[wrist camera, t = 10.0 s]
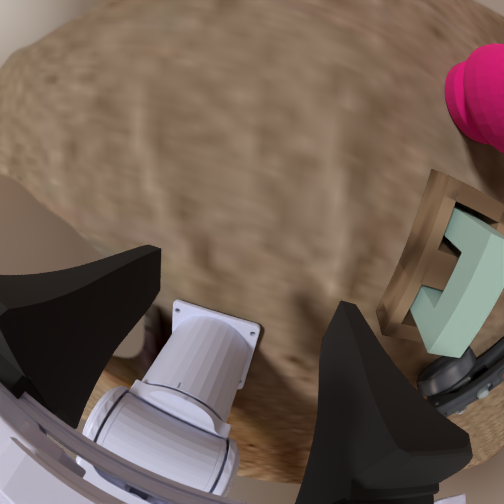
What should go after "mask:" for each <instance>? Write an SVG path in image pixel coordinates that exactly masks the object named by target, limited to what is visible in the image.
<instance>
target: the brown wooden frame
mask: <svg viewBox="0 0 504 504" xmlns="http://www.w3.org/2000/svg"><path fill="white" fill-rule="evenodd" d="M456 201H457V202H459V203H461V204H463V205H465V206H468V207H470V208H472V209H474V210H476V211H478V215H477V218H479V219H480V220H482V221H483V222H485V223H486V224H488V225H489V226H491V227H492V228H494V229H495V230H496V231H498V232H499V233H501V234H502V235H503V236H504V205H503V204H502V203H500V202H498V201H497V200H495V199H493V198H491V197H490V196H488V195H486V194H484V193H482V192H481V191H479V190H477V189H475V188H473V187H471V186H469V185H467V184H465V183H463V182H461V181H459V180H457V179H455V178H453V177H451V176H449V175H446V174H444V173H441V172H438V171H436V170H433V169H431V173H430V176H429V180H428V183H427V186H426V190H425V193H424V196H423V199H422V202H421V205H420V208H419V211H418V214H417V217H416V219H415V222H414V225H413V228H412V230H411V233H410V236H409V238H408V241H407V243H406V246H405V248H404V251H403V253H402V256H401V258H400V260H399V263H398V265H397V267H396V270H395V272H394V274H393V276H392V279H391V281H390V283H389V285H388V287H387V289H386V292H385V294H384V296H383V298H382V300H381V302H380V304H379V306H378V308H377V310H376V314H377V318H378V321H379V325H380V329H381V333H382V335H386V336H391V337H396V338H401V339H406V340H411V341H416V342H421V343H424V342H423V339H422V337H421V334H420V332H419V329H418V327H417V325H416V322H415V320H414V317H413V315H412V313H411V310H410V306H411V305H412V303H413V301H414V299H415V297H416V295H417V293H418V291H419V289H420V287H421V285H422V284H423V285H426V286H429V287H433V288H436V289H440V290H443V291H444V289H445V287H446V285H447V283H448V281H449V279H450V277H451V275H452V273H453V271H454V269H455V267H456V264H457V262H458V260H459V258H460V256H461V253H462V252H461V251H460V250H459V249H458V248H457V247H456V246H454V245H451V244H449V243H446V242H443V241H441V240H442V238H443V235H444V233H445V230H446V228H447V225H448V222H449V220H450V217H451V214H452V211H453V208H454V205H455V202H456Z"/></svg>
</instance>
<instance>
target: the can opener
mask: <svg viewBox="0 0 504 504" xmlns="http://www.w3.org/2000/svg"><path fill="white" fill-rule="evenodd" d="M503 381H504V338H503V339H502V340H501V341H500V342H499V343H498V344H496V345H495V346H494V347H493V348H492V349H491V350H490V351H488V352H487V353H486V354H485V355H483V356H482V357H480V358H479V359H477V360H476V356H475V354H474V353H473V351H472V349H471V348H470V346H468V347H467V349H466V350H465V352H464V353H463V354H462V356H461V357H460V358H457V357H450V356H442V357H440V358H439V359H437V360H436V361H435V362H433V363H432V364H431V365H429V366H428V367H427V368H426V369H425V370H424V371H423V372H422V373H421V374H420V375H419V377H418V378H417V387H418V392H419V393H420V394H421V395H422V396H428V398H427V401H428V402H429V403H430V404H431V405H432V406H433V407H434V408H435V409H436V410H438V411H439V412H440V413H441V414H442V415H444V416H445V417H447V416H449V415H451V414H453V413H455V414H461V413H463V412H464V411H465V410H466V408H467V405H469V404H471V403H472V402H474V401H476V400H477V399H481V398H484V397H486V396H487V395H488V394H489V391H491V390H492V389H494V388H495V387H496V386H498V385H499V384H500V383H502V382H503Z"/></svg>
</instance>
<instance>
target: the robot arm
mask: <svg viewBox="0 0 504 504" xmlns="http://www.w3.org/2000/svg"><path fill="white" fill-rule="evenodd" d="M160 277H161V248H158V247H155V246H151V245H145V246H141V247H137V248H134V249H131V250H128V251H125V252H122V253H119V254H116V255H113V256H110V257H107V258H104V259H101V260H98V261H95V262H91V263H88V264H85V265H81V266H78V267H73V268H69V269H65V270H59V271H53V272H47V273H39V274H29V275H0V504H252V503H247V502H242V501H238V500H233V499H230V498H226V495H227V494H228V492H229V490H230V488H231V486H232V484H233V482H234V480H235V477H236V474H237V471H238V467H239V462H240V452H239V449H238V447H237V443H236V441H235V440H233V439H231V438H228V435H229V432H230V429H231V425H229V424H227V423H226V422H227V419H228V416H229V413H230V410H231V407H232V404H233V401H234V398H235V395H236V392H237V389H242V388H243V385H244V382H245V379H246V376H247V372H248V369H249V366H250V363H251V359H252V356H253V353H254V349H255V346H256V342H257V339H258V336H259V332H260V326H259V325H258V324H256V323H253V322H250V321H246V320H243V319H239V318H236V317H232V316H229V315H226V314H222V313H219V312H216V311H213V310H209V309H206V308H203V307H200V306H197V305H194V304H191V303H188V302H185V301H182V300H176V301H175V302H174V303H173V325H172V336H171V337H170V339H169V340H168V342H167V343H166V345H165V346H164V348H163V349H162V351H161V352H160V354H159V355H158V357H157V358H156V360H155V361H154V363H153V364H152V366H151V367H150V369H149V371H148V372H147V374H146V375H145V377H144V378H143V380H142V381H139V380H136V381H135V383H134V384H133V386H132V387H131V389H130V390H129V389H128V388H126V387H125V386H119V387H117V388H112V389H110V390H109V391H107V392H106V393H105V394H104V395H103V396H102V398H101V399H100V400H99V401H98V403H97V404H96V406H95V407H94V409H93V410H92V412H91V414H90V416H89V418H88V420H87V422H86V424H85V427H84V430H83V433H82V434H81V433H79V432H78V431H76V430H75V429H76V428H77V427H78V424H79V421H80V418H81V416H82V413H83V411H84V408H85V406H86V403H87V401H88V399H89V397H90V395H91V393H92V391H93V389H94V386H95V384H96V383H97V381H98V379H99V377H100V375H101V373H102V371H103V370H104V368H105V366H106V365H107V363H108V361H109V360H110V358H111V356H112V355H113V353H114V351H115V350H116V349H117V347H118V346H119V344H120V343H121V342H122V341H123V339H124V338H125V337H126V336H127V335H128V333H129V332H130V331H131V330H132V328H133V327H134V326H135V325H136V323H137V322H138V321H139V320H140V319H141V318H142V316H143V315H144V314H145V313H146V311H147V310H148V309H149V308H150V306H151V304H152V303H153V301H154V300H155V298H156V296H157V295H158V293H159V291H160ZM177 308H178V309H179V310H180V311H179V310H178V309H177ZM252 332H255V334H253V333H252ZM46 433H47V434H48V435H50V436H51V437H52V438H54V439H55V440H56V441H58V442H59V443H60V444H62V445H63V446H64V447H66V448H67V449H69V450H70V451H72V452H73V453H75V454H76V455H77V458H76V461H77V463H76V462H75V461H74V460H72V459H71V458H70V457H69V456H68V455H67V454H66V453H65V451H64V450H63V449H62V448H60V447H59V446H58V445H57V444H55V443H54V442H53V441H51V440H50V439H49V438H48V437H47V434H46ZM472 457H473V454H472V448H471V443H470V438H469V434H468V433H467V432H465V431H464V430H463V429H461V428H460V427H458V426H457V425H456V424H454V423H453V422H451V421H450V420H449V419H447V418H446V417H445V416H444V415H442V414H441V413H440V412H439V411H438V410H436V409H435V408H434V407H433V406H432V405H431V404H430V403H429V402H428V401H427V400H426V399H425V398H424V397H423V396H422V395H421V394H420V393H419V392H418V391H417V390H416V389H415V388H414V387H413V386H412V385H411V384H410V383H409V382H408V380H407V379H406V378H405V377H404V375H403V374H402V373H401V372H400V371H399V369H398V368H397V367H396V366H395V364H394V363H393V362H392V360H391V359H390V357H389V356H388V354H387V353H386V352H385V350H384V349H383V347H382V346H381V344H380V343H379V341H378V339H377V338H376V336H375V335H374V333H373V331H372V330H371V328H370V327H369V325H368V323H367V322H366V320H365V318H364V317H363V315H362V314H361V312H360V310H359V309H358V307H357V306H356V304H352V303H349V302H345V301H340V303H339V305H338V307H337V310H336V312H335V314H334V316H333V318H332V320H331V322H330V324H329V326H328V329H327V331H326V333H325V335H324V337H323V339H322V345H321V352H320V359H319V390H318V412H317V421H316V426H315V432H314V437H313V442H312V447H311V451H310V455H309V460H308V463H307V467H306V471H305V474H304V478H303V481H302V484H301V488H300V491H299V494H298V497H297V499H296V502H295V504H466V497H465V494H464V493H462V494H459V495H455V496H450V497H446V498H442V499H439V500H436V501H434V496H433V494H436V493H438V491H439V482H441V481H443V480H445V479H447V478H448V477H450V476H452V475H453V474H455V473H457V472H458V471H460V470H461V469H463V468H464V467H465V466H466V465H467V464H468V463H469V462H470V461H471V459H472Z"/></svg>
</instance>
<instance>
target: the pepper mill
mask: <svg viewBox="0 0 504 504" xmlns="http://www.w3.org/2000/svg"><path fill="white" fill-rule="evenodd" d="M445 98H446V103H447V106H448V110H449V112H450V114H451V116H452V118H453V120H454V122H455V124H456V125H457V126H458V128H459V129H460V130H461V131H462V132H463V133H464V134H465V135H466V136H467V137H469V138H470V139H471V140H474V141H476V142H478V143H482V144H489V145H492V146H493V147H494V148H496V149H497V150H498V151H500V152H502V153H503V154H504V44H489V45H485V46H482V47H479V48H477V49H476V50H475V51H474V52H472V53H471V55H470V56H469V58H468V59H467V61H464V62H462V63H459V64H457V65H455V66H454V67H453V68H452V69H451V70H450V71H449V73H448V75H447V78H446V82H445Z"/></svg>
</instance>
